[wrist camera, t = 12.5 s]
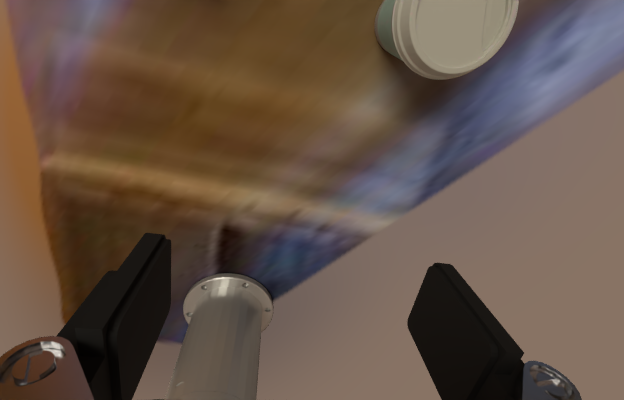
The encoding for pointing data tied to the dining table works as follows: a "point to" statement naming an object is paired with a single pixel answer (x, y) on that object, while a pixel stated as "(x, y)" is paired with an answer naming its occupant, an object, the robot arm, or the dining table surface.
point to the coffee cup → (444, 33)
